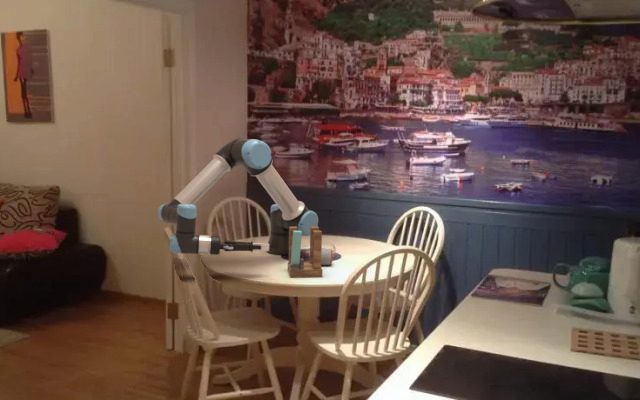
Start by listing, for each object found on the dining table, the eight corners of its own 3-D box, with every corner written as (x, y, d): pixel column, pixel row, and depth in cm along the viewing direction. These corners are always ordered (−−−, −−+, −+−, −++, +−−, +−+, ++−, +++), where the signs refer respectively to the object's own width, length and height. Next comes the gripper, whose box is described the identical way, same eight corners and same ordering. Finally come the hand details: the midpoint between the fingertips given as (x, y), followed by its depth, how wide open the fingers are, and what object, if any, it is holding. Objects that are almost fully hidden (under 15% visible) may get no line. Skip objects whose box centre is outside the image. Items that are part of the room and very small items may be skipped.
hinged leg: (290, 266, 254) (293, 230, 252) (298, 267, 255) (300, 230, 253) (291, 269, 251) (294, 232, 249) (299, 269, 252) (301, 232, 249)
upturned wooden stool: (287, 269, 263) (288, 226, 261) (317, 268, 265) (318, 226, 262) (290, 277, 250) (291, 232, 247) (322, 277, 252) (323, 232, 249)
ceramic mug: (332, 267, 268) (332, 249, 267) (313, 266, 268) (314, 249, 267) (330, 261, 279) (331, 244, 278) (312, 261, 278) (312, 244, 277)
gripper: (209, 251, 253) (266, 253, 258) (209, 257, 240) (270, 259, 245) (210, 233, 252) (267, 236, 257) (210, 237, 240) (271, 240, 244)
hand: (268, 247), depth 251 cm, fingers closed
